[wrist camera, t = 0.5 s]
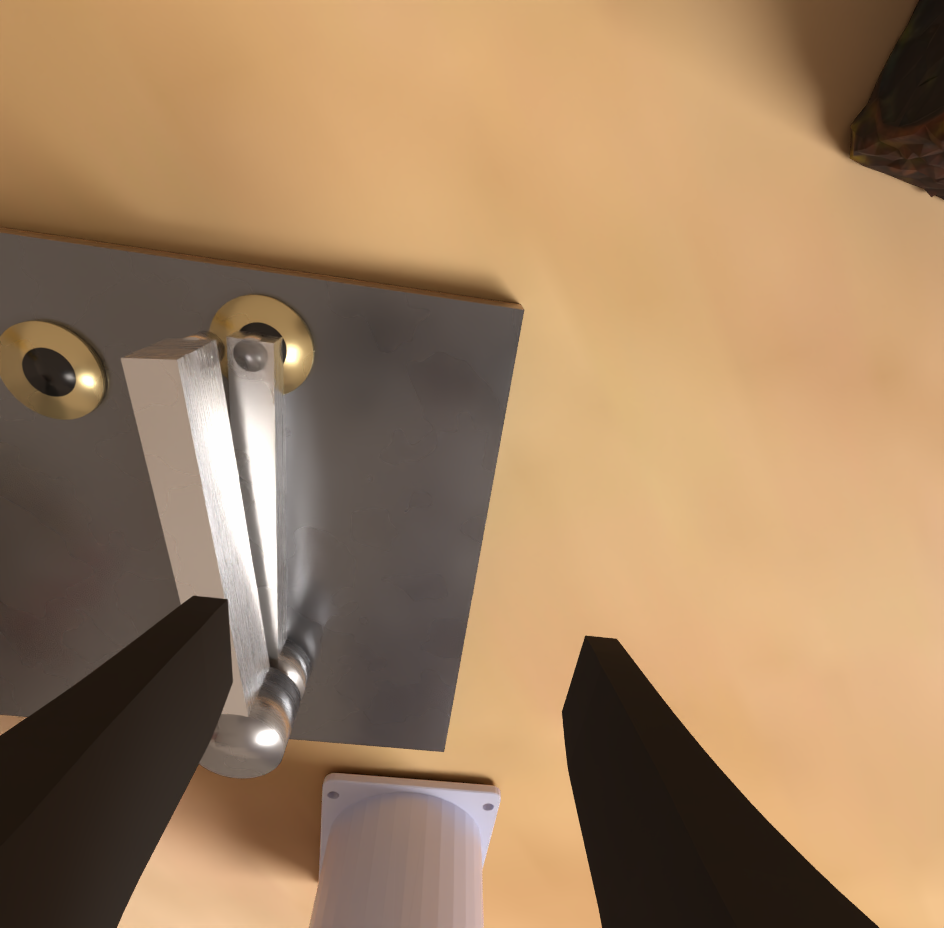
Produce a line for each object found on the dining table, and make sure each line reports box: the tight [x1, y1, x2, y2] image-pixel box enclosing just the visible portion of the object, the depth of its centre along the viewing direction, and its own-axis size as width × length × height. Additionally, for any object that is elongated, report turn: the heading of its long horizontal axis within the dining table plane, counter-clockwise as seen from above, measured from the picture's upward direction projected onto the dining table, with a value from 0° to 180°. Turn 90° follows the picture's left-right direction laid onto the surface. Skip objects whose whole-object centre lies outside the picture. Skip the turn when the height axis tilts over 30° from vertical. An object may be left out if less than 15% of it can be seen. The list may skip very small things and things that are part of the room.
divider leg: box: [121, 330, 301, 778], centre depth 16 cm, size 14×3×3 cm, turn 178°
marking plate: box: [0, 227, 524, 752], centre depth 18 cm, size 18×18×2 cm
